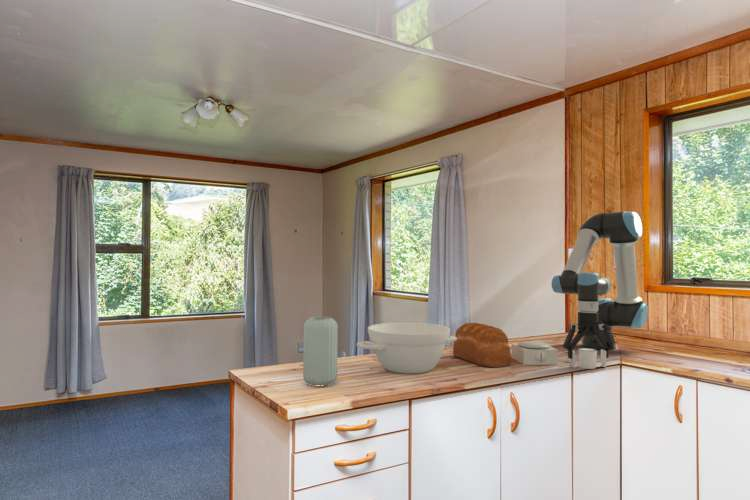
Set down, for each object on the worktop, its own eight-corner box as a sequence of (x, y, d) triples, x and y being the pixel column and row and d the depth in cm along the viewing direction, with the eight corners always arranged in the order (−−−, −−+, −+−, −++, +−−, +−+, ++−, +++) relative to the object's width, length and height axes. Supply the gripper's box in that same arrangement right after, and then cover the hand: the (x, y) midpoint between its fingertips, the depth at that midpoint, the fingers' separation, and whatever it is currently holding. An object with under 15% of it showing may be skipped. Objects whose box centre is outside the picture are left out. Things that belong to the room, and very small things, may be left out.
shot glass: (578, 368, 192) (578, 350, 192) (578, 364, 199) (578, 347, 199) (597, 369, 190) (597, 351, 190) (597, 366, 196) (597, 348, 196)
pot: (379, 385, 166) (379, 338, 166) (339, 366, 194) (340, 326, 194) (479, 371, 187) (479, 329, 187) (430, 355, 215) (431, 319, 215)
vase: (296, 386, 164) (297, 319, 164) (313, 378, 175) (313, 315, 175) (328, 389, 160) (328, 321, 160) (342, 381, 170) (343, 316, 171)
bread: (476, 353, 220) (476, 319, 221) (515, 366, 196) (515, 327, 196) (449, 356, 215) (449, 320, 215) (486, 369, 191) (486, 329, 191)
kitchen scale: (511, 357, 212) (511, 341, 212) (543, 357, 213) (543, 341, 213) (524, 365, 197) (524, 347, 197) (558, 364, 198) (558, 347, 198)
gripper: (562, 312, 190) (562, 369, 190) (623, 312, 192) (623, 368, 191) (554, 310, 197) (553, 364, 197) (612, 310, 199) (612, 364, 199)
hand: (587, 366), depth 194 cm, fingers open, 12 cm apart
